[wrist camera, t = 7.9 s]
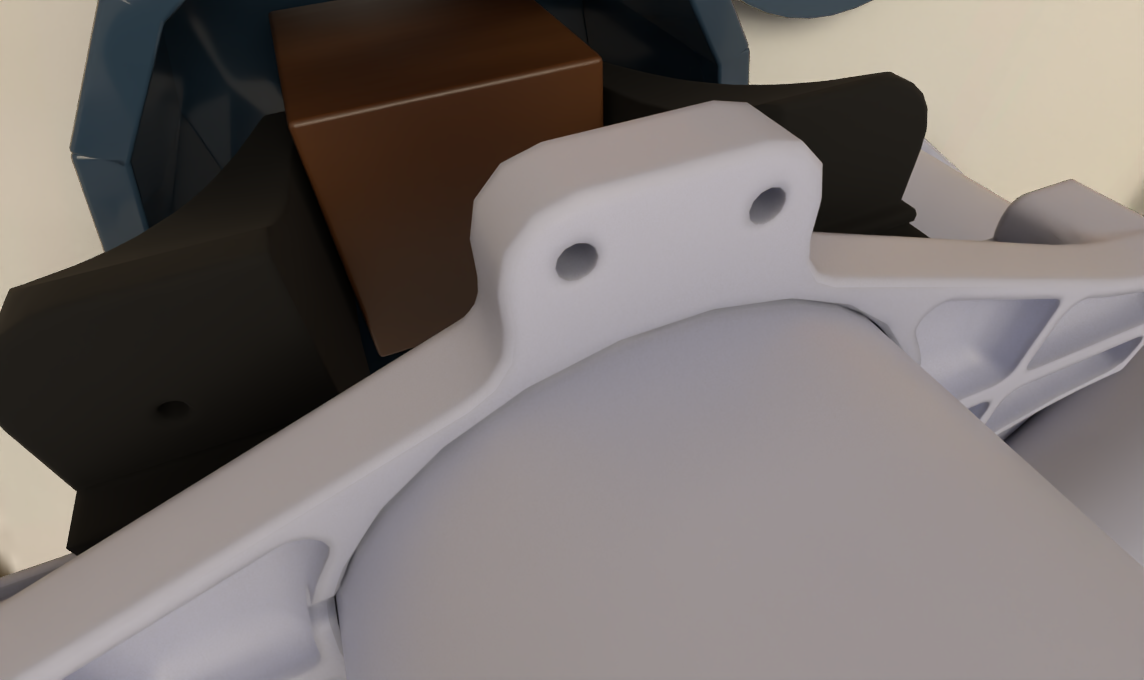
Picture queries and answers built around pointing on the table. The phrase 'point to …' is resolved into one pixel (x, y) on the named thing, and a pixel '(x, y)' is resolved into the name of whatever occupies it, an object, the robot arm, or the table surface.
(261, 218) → the robot arm
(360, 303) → the block
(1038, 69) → the table surface
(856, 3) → the blue lid with knob
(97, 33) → the canister
